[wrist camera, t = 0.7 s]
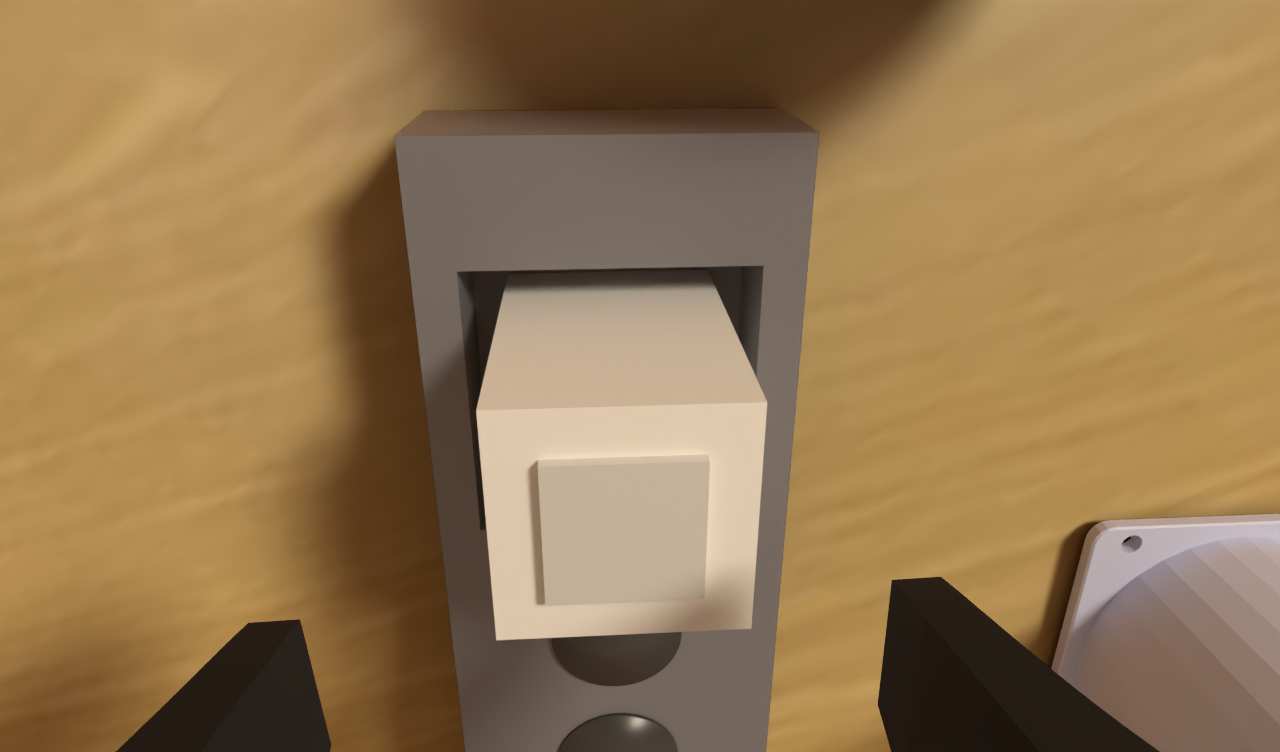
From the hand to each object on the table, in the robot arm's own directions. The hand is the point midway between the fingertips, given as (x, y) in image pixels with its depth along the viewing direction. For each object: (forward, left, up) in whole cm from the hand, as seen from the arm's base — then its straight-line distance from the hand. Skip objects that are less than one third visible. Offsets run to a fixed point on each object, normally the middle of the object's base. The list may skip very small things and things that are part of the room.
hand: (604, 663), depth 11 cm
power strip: (0, +4, -9) cm, 10 cm away
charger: (0, 0, -8) cm, 8 cm away
